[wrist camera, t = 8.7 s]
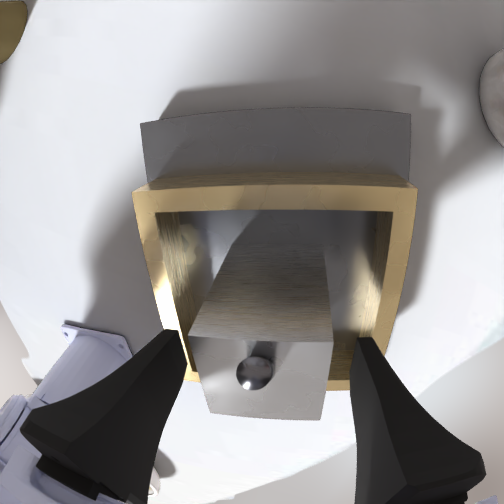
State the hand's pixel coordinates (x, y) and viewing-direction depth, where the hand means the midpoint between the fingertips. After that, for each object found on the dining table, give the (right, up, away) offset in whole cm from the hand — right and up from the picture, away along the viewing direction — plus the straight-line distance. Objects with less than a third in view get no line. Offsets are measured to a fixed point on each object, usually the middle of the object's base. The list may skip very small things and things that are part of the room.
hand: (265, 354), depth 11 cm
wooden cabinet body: (+1, +3, +6) cm, 7 cm away
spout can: (+1, +2, +5) cm, 5 cm away
